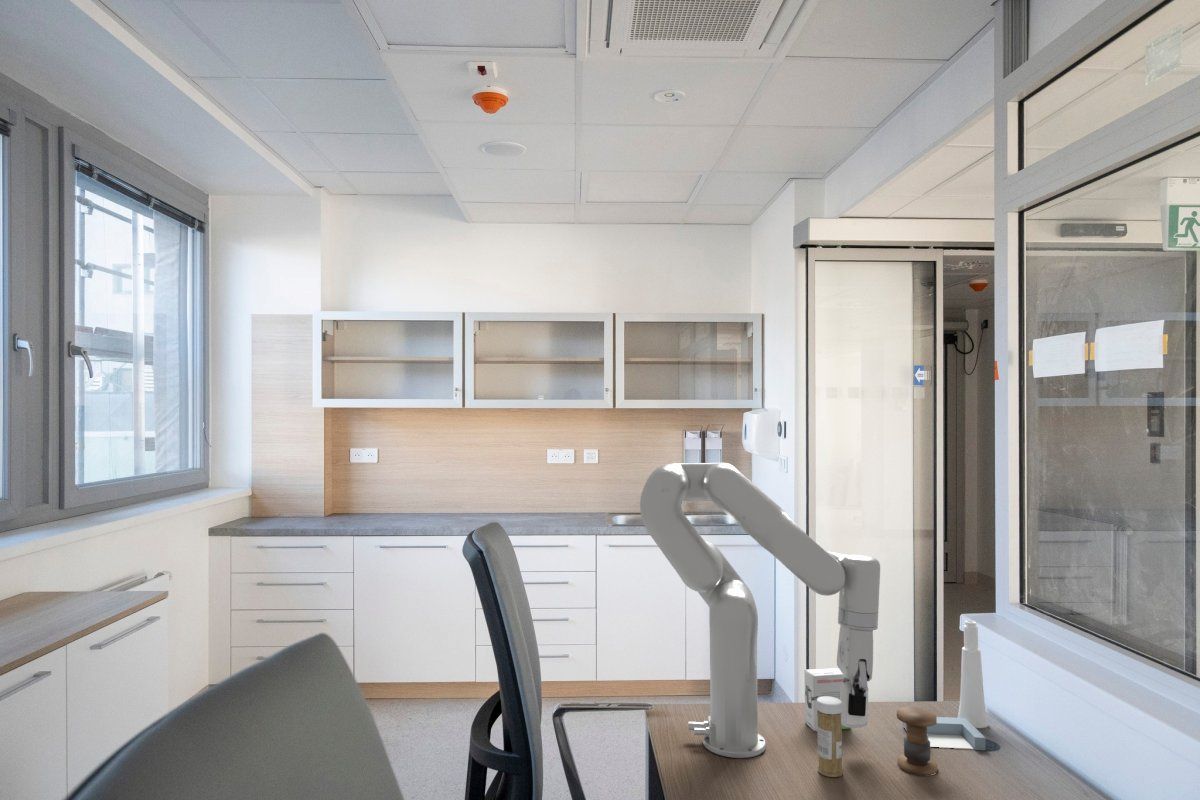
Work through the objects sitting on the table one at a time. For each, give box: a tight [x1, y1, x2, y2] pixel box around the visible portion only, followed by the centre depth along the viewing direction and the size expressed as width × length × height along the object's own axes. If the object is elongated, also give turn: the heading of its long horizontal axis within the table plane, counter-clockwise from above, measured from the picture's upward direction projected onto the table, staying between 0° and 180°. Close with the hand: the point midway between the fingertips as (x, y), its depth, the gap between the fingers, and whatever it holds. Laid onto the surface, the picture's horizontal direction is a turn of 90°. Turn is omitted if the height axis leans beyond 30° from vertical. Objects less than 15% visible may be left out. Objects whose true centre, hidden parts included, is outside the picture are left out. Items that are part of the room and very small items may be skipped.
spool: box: [896, 706, 939, 776], centre depth 138 cm, size 7×7×10 cm
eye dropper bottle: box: [840, 675, 869, 729], centre depth 144 cm, size 4×6×12 cm
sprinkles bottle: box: [817, 696, 844, 778], centre depth 136 cm, size 5×5×13 cm
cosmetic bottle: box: [957, 620, 989, 729], centre depth 159 cm, size 6×6×22 cm
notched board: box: [902, 716, 986, 751], centre depth 150 cm, size 13×10×2 cm
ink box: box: [803, 667, 851, 732], centre depth 157 cm, size 9×5×12 cm, turn 99°
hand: (853, 709), depth 144 cm, fingers closed on eye dropper bottle, 4 cm apart
